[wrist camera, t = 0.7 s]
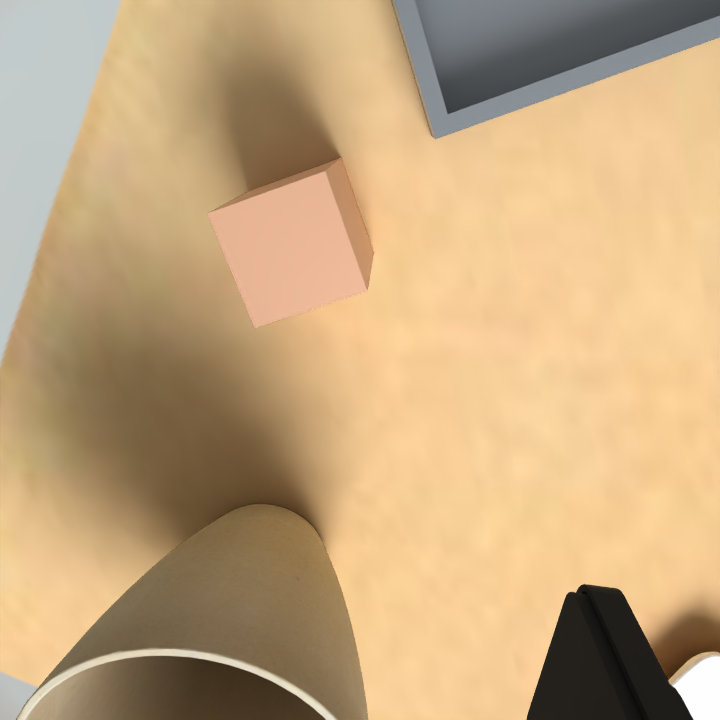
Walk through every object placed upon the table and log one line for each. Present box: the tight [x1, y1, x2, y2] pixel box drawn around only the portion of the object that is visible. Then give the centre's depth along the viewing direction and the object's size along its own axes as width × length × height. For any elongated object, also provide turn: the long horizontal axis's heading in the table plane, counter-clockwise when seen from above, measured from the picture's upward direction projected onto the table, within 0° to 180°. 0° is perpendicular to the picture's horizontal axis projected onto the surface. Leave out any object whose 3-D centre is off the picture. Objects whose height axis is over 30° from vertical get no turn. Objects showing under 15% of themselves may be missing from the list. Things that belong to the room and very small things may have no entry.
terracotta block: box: [207, 158, 374, 328], centre depth 31 cm, size 5×5×8 cm
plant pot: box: [16, 504, 368, 720], centre depth 34 cm, size 15×15×16 cm
